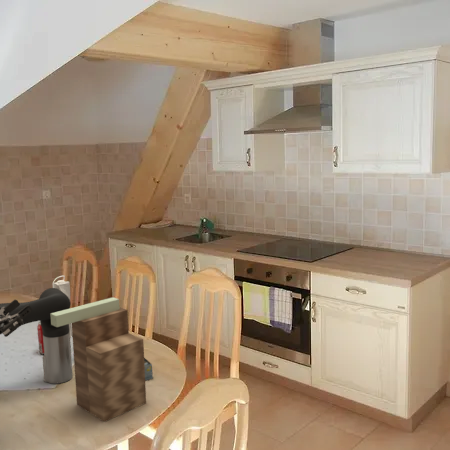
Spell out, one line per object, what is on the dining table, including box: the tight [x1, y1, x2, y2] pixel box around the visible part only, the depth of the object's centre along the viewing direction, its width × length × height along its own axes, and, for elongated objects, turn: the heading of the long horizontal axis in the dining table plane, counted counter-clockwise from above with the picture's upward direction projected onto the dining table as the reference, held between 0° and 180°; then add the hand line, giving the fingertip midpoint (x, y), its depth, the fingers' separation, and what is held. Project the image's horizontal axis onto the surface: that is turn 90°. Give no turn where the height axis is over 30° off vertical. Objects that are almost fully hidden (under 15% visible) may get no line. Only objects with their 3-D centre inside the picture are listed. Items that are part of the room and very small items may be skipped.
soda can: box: [36, 321, 44, 355], centre depth 215 cm, size 7×7×13 cm
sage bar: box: [50, 296, 121, 327], centre depth 166 cm, size 22×4×4 cm, turn 136°
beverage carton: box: [144, 357, 154, 382], centre depth 195 cm, size 8×19×7 cm, turn 32°
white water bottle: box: [52, 275, 72, 339], centre depth 229 cm, size 8×8×28 cm
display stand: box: [71, 306, 147, 422], centre depth 170 cm, size 16×16×30 cm
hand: (24, 304), depth 155 cm, fingers open, 8 cm apart
